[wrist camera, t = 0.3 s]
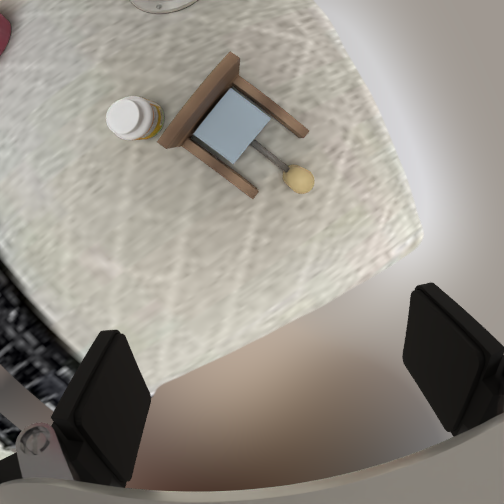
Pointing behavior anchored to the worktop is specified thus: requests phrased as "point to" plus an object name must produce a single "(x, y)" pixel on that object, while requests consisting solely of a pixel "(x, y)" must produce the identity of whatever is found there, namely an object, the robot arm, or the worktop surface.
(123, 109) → the supplement bottle
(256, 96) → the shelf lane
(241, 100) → the push plunger
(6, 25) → the plant pot
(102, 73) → the worktop surface
